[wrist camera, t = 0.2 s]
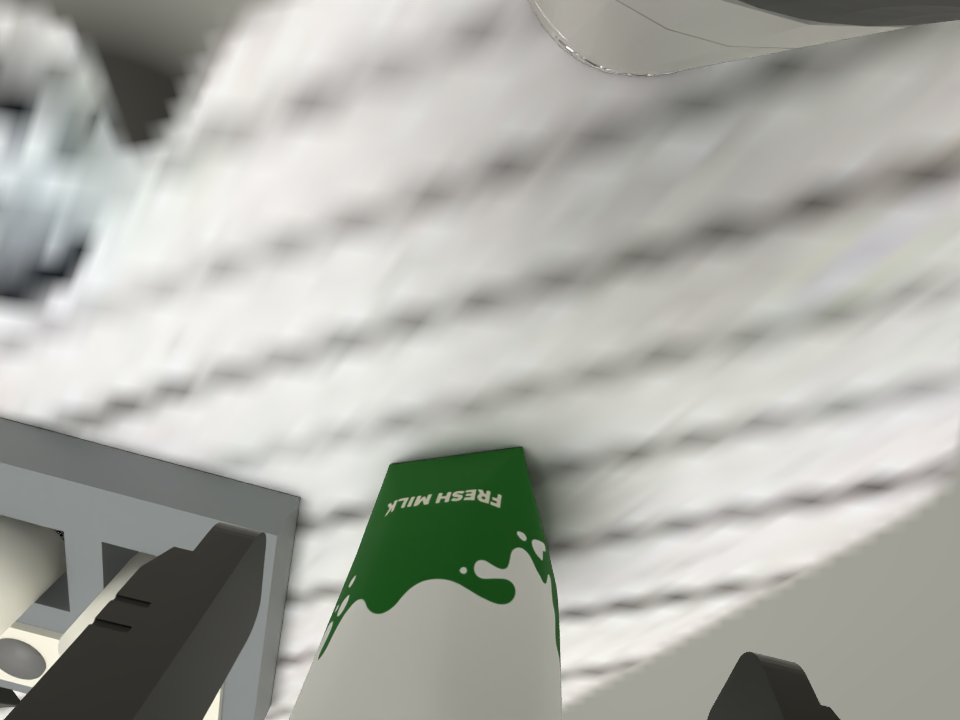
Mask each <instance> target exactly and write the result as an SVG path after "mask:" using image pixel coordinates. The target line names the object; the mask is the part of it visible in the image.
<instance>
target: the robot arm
mask: <svg viewBox="0 0 960 720" xmlns="http://www.w3.org/2000/svg"><path fill="white" fill-rule="evenodd" d="M528 1H529V3H530V5H531V7H532V9H533V10H534V12H535V14H536V16H537V18H538V19H539V21H540V23H541V25H542V26H543V27H544V29H545V30H546V31H547V32H548V33H549V34H550V36H551V37H552V38H553V39H554V40H555V41H556V42H557V44H558V45H559V46H560V47H561V48H563V49H564V50H565V51H567V52H568V53H570V54H571V55H572V56H574V57H575V58H577V59H578V60H579V61H581V62H582V63H585V64H587V65H589V66H592V67H594V68H597V69H599V70H602V71H604V72H607V73H614V74H620V75H627V76H639V77H640V76H658V75H664V74H671V73H676V72H679V71H682V70H687V69H693V68H698V67H703V66H708V65H714V64H719V63H724V62H729V61H735V60H740V59H745V58H750V57H756V56H761V55H766V54H771V53H777V52H782V51H787V50H792V49H798V48H803V47H808V46H813V45H818V44H824V43H829V42H834V41H839V40H845V39H850V38H855V37H860V36H865V35H870V34H875V33H881V32H886V31H891V30H897V29H902V28H908V27H913V26H918V25H923V24H929V23H936V22H945V21H953V20H960V0H528ZM265 551H266V534H265V533H264V532H260V531H256V530H252V529H248V528H243V527H239V526H235V525H231V524H227V523H223V522H219V523H217V524H215V525H214V526H213V527H212V528H211V529H210V531H209V532H208V533H207V534H206V536H205V537H204V538H203V539H202V541H201V542H200V543H199V544H198V546H197V547H196V548H195V549H194V551H190V550H186V549H182V548H178V547H173V548H171V549H169V550H168V551H166V552H164V553H163V554H161V555H159V556H158V557H156V558H154V559H153V560H151V561H149V562H148V563H146V564H144V565H142V566H141V567H140V568H139V569H138V570H137V571H136V572H135V573H134V575H133V576H132V577H131V578H130V579H129V580H128V581H127V582H126V584H125V585H124V586H123V587H122V588H121V589H120V590H119V591H118V593H117V594H116V596H115V598H114V600H110V601H109V603H108V604H107V605H106V606H105V607H104V608H103V609H102V610H101V612H100V613H99V614H98V615H97V616H96V617H95V620H94V622H93V623H92V624H89V625H88V626H87V627H86V628H85V629H84V631H83V632H82V633H81V634H80V635H79V636H78V637H77V638H76V640H75V641H74V642H73V643H72V644H71V645H70V646H69V647H68V648H67V650H66V651H65V652H64V653H63V654H62V655H61V656H60V657H59V659H58V660H57V661H56V662H55V663H54V664H53V665H52V666H51V668H50V669H49V670H48V671H47V672H46V673H45V674H44V675H43V676H42V678H41V679H40V680H39V681H38V682H37V683H36V684H35V685H34V687H33V688H32V689H31V690H30V691H29V692H28V693H27V694H26V696H25V697H24V698H23V699H22V700H21V701H20V702H19V703H18V704H17V706H16V707H15V708H14V709H13V710H12V711H11V712H10V713H9V715H8V716H7V717H6V718H5V719H4V720H203V718H204V717H205V715H206V713H207V711H208V710H209V708H210V706H211V704H212V702H213V701H214V699H215V697H216V695H217V693H218V692H219V690H220V688H221V686H222V685H223V683H224V681H225V679H226V677H227V676H228V674H229V672H230V670H231V669H232V667H233V665H234V663H235V661H236V660H237V658H238V656H239V654H240V652H241V651H242V649H243V647H244V645H245V644H246V642H247V640H248V638H249V636H250V634H251V631H252V629H253V626H254V624H255V621H256V618H257V614H258V611H259V607H260V602H261V593H262V582H263V572H264V561H265ZM707 720H840V719H839V718H838V717H837V715H836V714H835V713H834V712H833V710H832V709H831V708H830V707H826V706H822V705H820V703H819V701H818V699H817V697H816V695H815V693H814V690H813V688H812V686H811V684H810V682H809V680H808V678H807V676H806V674H805V672H804V671H803V669H802V668H801V667H800V666H799V665H798V664H796V663H794V662H790V661H785V660H781V659H777V658H773V657H769V656H764V655H761V654H757V653H752V652H746V653H744V654H743V655H742V656H741V657H740V658H739V660H738V662H737V664H736V666H735V667H734V669H733V671H732V673H731V674H730V676H729V678H728V680H727V682H726V683H725V685H724V687H723V689H722V691H721V693H720V694H719V696H718V698H717V700H716V701H715V703H714V705H713V707H712V709H711V711H710V713H709V716H708V719H707Z"/></svg>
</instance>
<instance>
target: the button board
mask: <svg viewBox="0 0 960 720" xmlns="http://www.w3.org/2000/svg"><path fill="white" fill-rule="evenodd" d="M299 504H300V498H299V497H296V496H292V495H288V494H284V493H281V492H277V491H273V490H269V489H265V488H262V487H258V486H254V485H250V484H247V483H243V482H239V481H235V480H232V479H228V478H224V477H220V476H217V475H213V474H209V473H205V472H202V471H198V470H194V469H190V468H187V467H183V466H179V465H175V464H172V463H168V462H164V461H160V460H157V459H153V458H149V457H145V456H142V455H138V454H134V453H130V452H127V451H123V450H119V449H115V448H112V447H108V446H104V445H100V444H97V443H93V442H89V441H85V440H81V439H78V438H74V437H70V436H66V435H63V434H59V433H55V432H51V431H48V430H44V429H40V428H36V427H33V426H29V425H25V424H21V423H18V422H14V421H10V420H6V419H3V418H0V515H3V516H6V517H10V518H14V519H18V520H22V521H25V522H29V523H33V524H37V525H41V526H44V527H48V528H52V529H56V530H59V531H63V532H64V541H65V553H66V566H67V570H66V571H65V572H64V573H63V574H62V575H61V576H60V577H59V578H58V579H57V580H56V581H55V582H54V583H53V584H52V585H51V586H50V587H49V588H48V589H47V590H46V591H45V592H44V593H43V594H42V595H41V596H40V597H39V598H38V599H37V600H36V601H35V602H34V603H33V604H32V605H31V606H30V607H29V608H28V609H27V610H26V611H25V612H24V613H23V614H22V615H21V616H20V617H19V618H18V619H17V620H16V622H20V623H23V624H27V625H31V626H35V627H39V628H43V629H46V630H50V631H54V632H58V633H62V634H64V633H65V632H66V631H67V630H68V629H69V628H70V626H71V625H72V624H73V623H74V622H75V621H76V620H77V619H78V617H79V616H80V615H81V614H82V613H83V612H84V611H85V610H86V609H87V607H88V606H89V605H90V604H91V603H92V602H93V601H94V600H95V598H96V597H97V596H98V595H99V594H100V593H101V592H102V591H103V589H104V588H105V587H106V586H107V585H108V584H109V583H110V582H111V580H112V579H113V578H114V577H115V576H116V575H117V574H118V573H119V571H120V570H121V569H122V568H123V567H124V566H125V565H126V564H127V563H128V561H129V560H130V559H131V558H132V557H133V556H134V555H136V554H137V553H139V552H143V553H147V554H150V555H154V556H159V555H161V554H163V553H164V552H166V551H168V550H169V549H171V548H173V547H178V548H182V549H186V550H190V551H194V549H195V548H196V547H197V546H198V544H199V543H200V542H201V541H202V539H203V538H204V537H205V536H206V534H207V533H208V532H209V531H210V529H211V528H212V527H213V526H214V525H215V524H217V523H219V522H223V523H227V524H231V525H235V526H239V527H243V528H248V529H252V530H256V531H260V532H264V533H265V534H266V551H265V561H264V572H263V582H262V593H261V602H260V607H259V611H258V614H257V618H256V621H255V624H254V626H253V629H252V631H251V634H250V636H249V638H248V640H247V642H246V644H245V645H244V647H243V649H242V651H241V652H240V654H239V656H238V658H237V660H236V661H235V663H234V665H233V667H232V669H231V670H230V672H229V674H228V676H227V677H226V679H225V681H224V688H223V700H222V711H221V720H264V719H265V717H266V714H267V712H268V710H269V708H270V705H271V698H272V691H273V684H274V677H275V670H276V663H277V656H278V649H279V642H280V635H281V628H282V621H283V615H284V608H285V601H286V594H287V587H288V580H289V573H290V566H291V559H292V552H293V545H294V538H295V531H296V524H297V517H298V510H299ZM0 687H3V688H7V689H11V690H15V691H19V692H23V693H26V694H27V693H28V692H29V691H30V690H31V689H32V688H33V687H29V686H25V685H21V684H17V683H13V682H10V681H6V680H2V679H0Z"/></svg>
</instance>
